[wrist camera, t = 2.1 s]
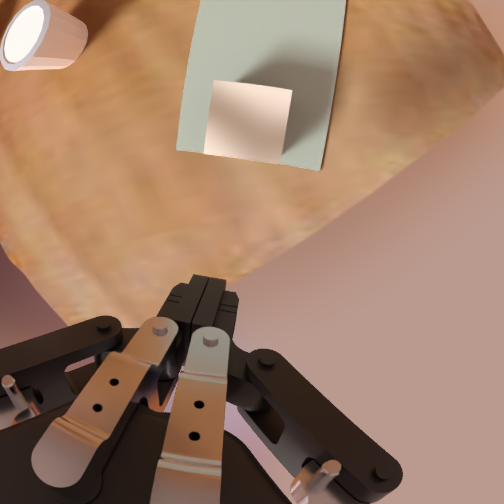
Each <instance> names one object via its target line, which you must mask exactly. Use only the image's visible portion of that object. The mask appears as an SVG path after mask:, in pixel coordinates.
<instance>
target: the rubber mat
mask: <svg viewBox="0 0 504 504" xmlns="http://www.w3.org/2000/svg"><path fill="white" fill-rule="evenodd" d="M345 6H346V0H201V2H200V6H199V10H198V15H197V19H196V24H195V29H194V34H193V39H192V44H191V49H190V55H189V60H188V66H187V72H186V78H185V84H184V91H183V98H182V105H181V112H180V120H179V128H178V137H177V146H176V150H180V151H190V152H199V153H204V145H205V137H206V130H207V122H208V115H209V108H210V101H211V95H212V88H213V82H214V80H217V81H229V82H239V83H248V84H256V85H263V86H270V87H277V88H283V89H289V90H292V96H291V102H290V108H289V114H288V120H287V126H286V132H285V138H284V144H283V150H282V156H281V162H280V164H284V165H289V166H295V167H300V168H305V169H311V170H316V171H320V168H321V163H322V158H323V152H324V147H325V141H326V136H327V130H328V125H329V119H330V113H331V107H332V101H333V95H334V89H335V82H336V76H337V69H338V62H339V55H340V47H341V40H342V32H343V23H344V15H345Z"/></svg>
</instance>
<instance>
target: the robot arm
mask: <svg viewBox="0 0 504 504" xmlns="http://www.w3.org/2000/svg"><path fill="white" fill-rule="evenodd" d="M225 289H226V280H224V279H218V278H212V277H206V276H201V275H195V274H194V275H193V277H192V278H191V280H190V282H189V284H185V283H180V284H178V285H176V286H175V287H173V289H172V291H171V292H170V294H169V296H168V297H167V299H166V301H165V302H164V304H163V306H162V308H161V309H160V311H159V313H158V315H157V316H156V317H153V318H150V319H148V320H146V321H145V322H144V323H143V324H142V326H141V327H140V328H122V326H121V323H120V321H119V320H118V319H117V318H115V317H112V316H99V317H95V318H92V319H89V320H87V321H84V322H81V323H78V324H75V325H72V326H69V327H66V328H63V329H60V330H57V331H54V332H51V333H48V334H45V335H42V336H39V337H36V338H33V339H30V340H27V341H24V342H21V343H17V344H14V345H11V346H8V347H5V348H2V349H0V504H292V503H291V502H290V501H289V499H288V498H287V497H286V496H285V495H284V494H283V492H282V491H281V490H280V489H279V487H278V486H277V485H276V484H275V482H274V481H273V480H272V479H271V478H270V476H269V475H268V474H267V473H266V471H265V470H264V469H263V467H262V466H261V465H260V463H259V462H258V461H257V459H256V458H255V457H254V455H253V454H252V453H251V451H250V450H249V449H248V448H247V446H246V445H245V444H244V443H243V442H242V441H241V440H239V439H238V438H237V437H236V436H234V435H233V434H231V433H229V432H227V431H225V430H224V419H225V405H226V401H227V402H229V403H231V404H234V405H236V406H237V409H238V411H239V413H240V414H241V416H242V417H243V418H244V420H245V421H246V422H247V423H248V425H249V426H250V427H251V428H252V430H253V431H254V432H255V433H256V434H257V436H258V437H259V438H260V439H261V440H262V441H263V443H264V444H265V445H266V446H267V448H268V449H269V450H270V451H271V452H272V453H273V454H274V456H275V457H276V458H277V459H278V460H279V461H280V463H281V464H282V465H283V466H284V467H285V468H286V469H287V470H288V472H289V473H290V474H291V475H292V476H293V477H294V478H295V479H294V480H293V482H292V484H291V488H290V491H291V494H292V497H293V498H294V500H295V501H296V503H297V504H374V503H375V502H377V501H379V500H380V499H382V498H383V497H384V496H386V495H387V494H388V493H390V492H392V491H393V490H394V489H396V488H397V487H398V486H399V484H400V483H401V481H402V477H403V472H402V468H401V466H400V464H399V463H398V461H397V460H396V459H394V458H393V457H392V456H391V455H390V454H388V453H387V452H386V451H385V450H384V449H383V448H381V447H380V446H379V445H378V444H377V443H376V442H374V441H373V440H372V439H371V438H370V437H369V436H367V435H366V434H365V433H364V432H363V431H362V430H360V428H358V427H357V426H356V425H355V424H354V423H353V422H352V421H351V420H350V419H348V418H347V417H346V416H345V415H344V414H343V413H342V412H341V411H340V410H338V409H337V408H336V407H335V406H334V405H333V404H332V403H331V402H330V401H329V400H328V399H327V398H325V397H324V396H323V395H322V394H321V393H320V392H319V391H318V390H317V389H316V388H315V387H314V386H313V385H312V384H310V382H308V380H306V379H305V378H304V377H303V376H302V375H301V374H300V373H299V372H298V371H297V370H296V369H295V368H294V367H293V366H292V365H291V364H290V363H289V362H288V361H287V360H286V359H285V358H284V357H283V356H281V354H279V353H278V352H276V351H273V350H269V349H257V350H254V351H252V352H251V353H248V352H245V351H243V350H241V349H240V348H238V347H237V346H236V345H235V344H234V342H233V340H232V338H233V333H234V328H235V322H236V315H237V309H238V302H239V299H238V296H237V295H236V292H230V291H225ZM91 356H94V359H95V362H93V363H90V364H88V365H85V366H83V367H80V368H77V369H75V370H72V371H69V372H64V371H65V369H66V367H67V366H68V365H70V364H73V363H76V362H78V361H81V360H83V359H86V358H89V357H91ZM181 366H185V367H184V371H181V372H180V369H181ZM179 372H180V375H179ZM177 382H178V384H177ZM176 384H177V387H176V392H175V396H174V400H173V405H172V409H171V413H166V412H165V413H164V410H165V408H166V406H167V403H168V401H169V399H170V397H171V395H172V392H173V390H174V388H175V386H176Z"/></svg>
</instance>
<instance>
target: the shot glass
mask: <svg viewBox="0 0 504 504" xmlns="http://www.w3.org/2000/svg"><path fill="white" fill-rule="evenodd" d="M87 38H88V30H87V26H86V24H84V23H83V22H82V21H81V20H79V19H77V18H76V17H74V16H72V15H70V14H69V13H67V12H65V11H63V10H61V9H60V8H58V7H56V6H54V5H52V4H50V3H49V2H47V1H45V0H34V1H32V2H30V3H29V4H27V5H25V6H24V7H23V8H22V9H21V10H20V11H19V12H18V13H17V14H16V15H15V16H14V18H13V19H12V21H11V22H10V24H9V25H8V27H7V29H6V31H5V34H4V36H3V39H2V42H1V48H0V60H1V64H2V65H3V67H4V68H5V69H6V70H10V71H19V70H37V69H62V68H65V67H68V66H69V65H71V64H72V63H73V62H75V61H76V60H77V58H78V57H79V56H80V54H81V53H82V52H83V50H84V47H85V45H86V43H87Z"/></svg>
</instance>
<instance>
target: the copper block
mask: <svg viewBox="0 0 504 504" xmlns="http://www.w3.org/2000/svg"><path fill="white" fill-rule="evenodd" d="M291 96H292V90H289V89H283V88H277V87H270V86H263V85H256V84H248V83H239V82H229V81H217V80H214V82H213V88H212V95H211V101H210V108H209V115H208V122H207V130H206V137H205V145H204V154H209V155H217V156H225V157H232V158H240V159H247V160H253V161H260V162H266V163H272V164H278V165H280V162H281V156H282V150H283V144H284V138H285V132H286V126H287V120H288V114H289V108H290V102H291Z"/></svg>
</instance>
